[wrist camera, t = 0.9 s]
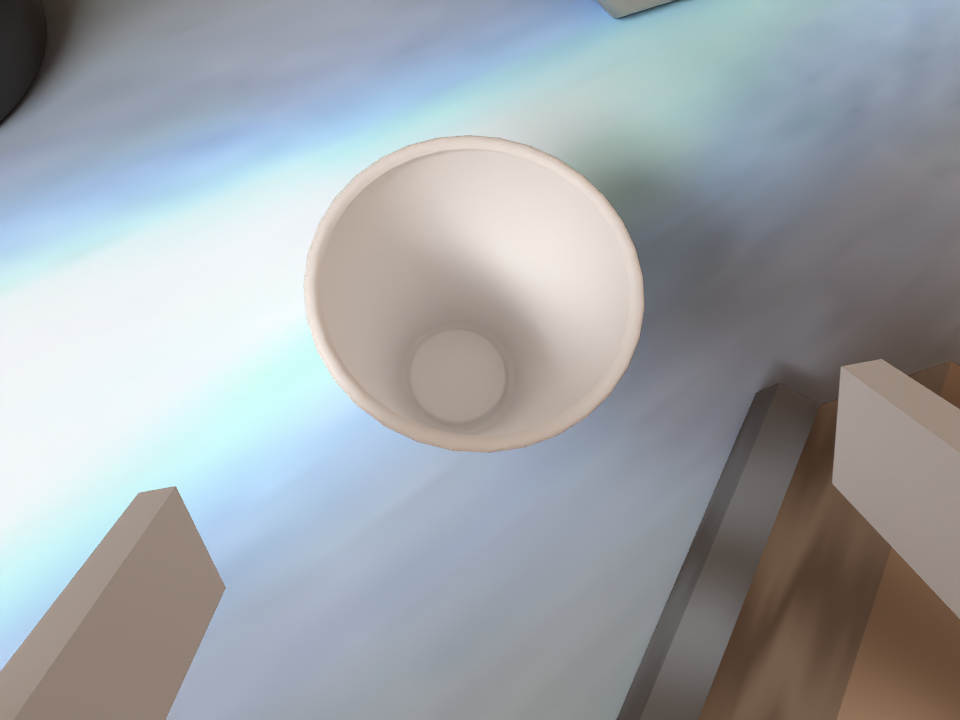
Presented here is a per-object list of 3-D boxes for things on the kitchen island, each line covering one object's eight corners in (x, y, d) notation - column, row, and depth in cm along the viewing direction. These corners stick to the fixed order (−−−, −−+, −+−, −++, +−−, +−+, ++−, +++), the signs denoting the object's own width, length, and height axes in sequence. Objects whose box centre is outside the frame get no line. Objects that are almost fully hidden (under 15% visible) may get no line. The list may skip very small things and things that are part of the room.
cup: (302, 383, 27) (226, 284, 17) (450, 240, 30) (465, 78, 19) (466, 534, 26) (496, 531, 15) (604, 371, 29) (710, 274, 18)
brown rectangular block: (869, 945, 23) (1138, 1190, 14) (592, 775, 24) (689, 910, 15) (986, 521, 28) (1233, 512, 20) (756, 393, 29) (896, 331, 20)
